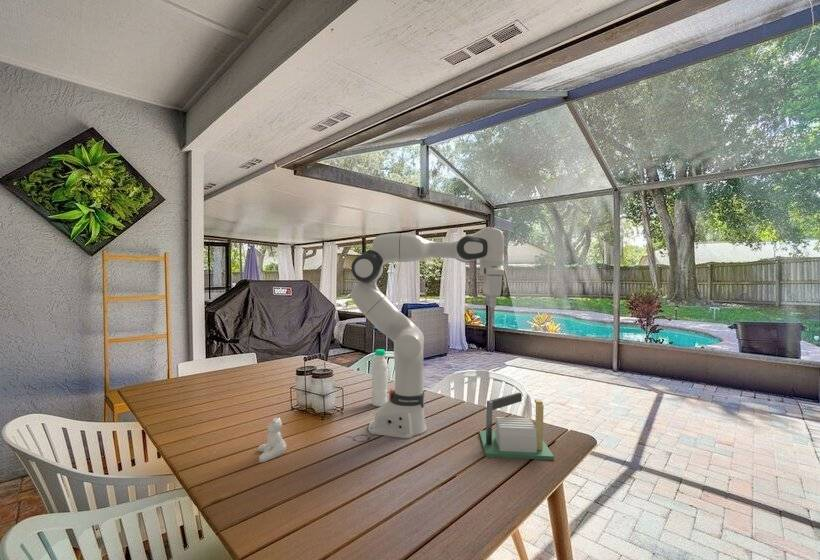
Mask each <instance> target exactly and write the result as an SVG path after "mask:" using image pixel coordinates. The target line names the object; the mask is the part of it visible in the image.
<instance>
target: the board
mask: <svg viewBox="0 0 820 560" xmlns="http://www.w3.org/2000/svg"><path fill="white" fill-rule="evenodd" d="M541 399H542V398H541ZM541 399H540V398H539V399H536V398H534V402H535V425H534V423H533V421H532V420H531V418H530V417H529V418H528V417H527V418H526V417H500V416H499V417H498V416H496V417H495V427H494V429H495V430H492V444H487V443H486V429H485V430H482V429H481V430H478V434H480V435H479V438H480V442H481V444H482V449H483V452H484V456H485V457H486V458H503V459H524V458H525V460H545V461H546V460H547V461H554V460H555V456H554V454H553V452H552V451H551V450H550V448H549V447H548V444H547V442H545V441H544V410H545V409H544V402H543V401H542V400H541Z"/></svg>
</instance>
